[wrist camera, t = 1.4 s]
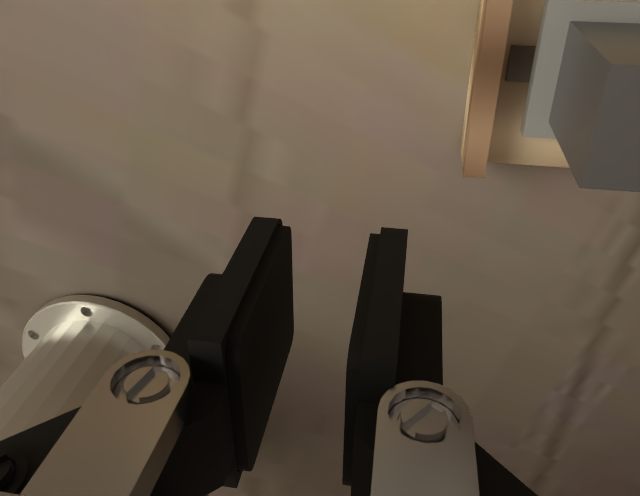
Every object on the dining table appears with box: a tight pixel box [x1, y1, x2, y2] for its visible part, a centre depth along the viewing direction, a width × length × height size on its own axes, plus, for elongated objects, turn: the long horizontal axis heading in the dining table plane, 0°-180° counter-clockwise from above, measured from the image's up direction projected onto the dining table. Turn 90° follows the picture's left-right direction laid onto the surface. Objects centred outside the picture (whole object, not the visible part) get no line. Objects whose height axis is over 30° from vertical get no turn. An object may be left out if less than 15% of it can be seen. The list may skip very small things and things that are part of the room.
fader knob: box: [520, 0, 640, 192], centre depth 23 cm, size 6×5×8 cm
